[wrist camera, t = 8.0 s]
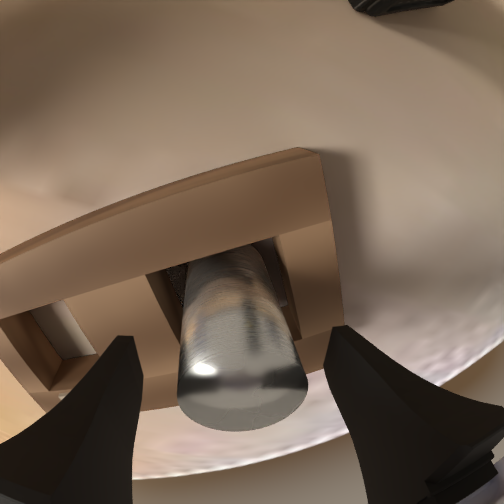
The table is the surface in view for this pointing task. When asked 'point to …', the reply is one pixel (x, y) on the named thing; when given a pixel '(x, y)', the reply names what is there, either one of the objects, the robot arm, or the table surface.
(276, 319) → the steel peg
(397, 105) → the table surface
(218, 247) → the socket board
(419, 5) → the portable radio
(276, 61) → the table surface
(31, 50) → the table surface
